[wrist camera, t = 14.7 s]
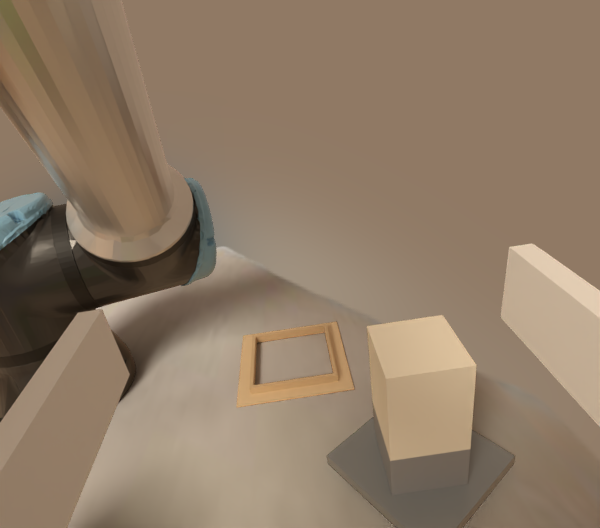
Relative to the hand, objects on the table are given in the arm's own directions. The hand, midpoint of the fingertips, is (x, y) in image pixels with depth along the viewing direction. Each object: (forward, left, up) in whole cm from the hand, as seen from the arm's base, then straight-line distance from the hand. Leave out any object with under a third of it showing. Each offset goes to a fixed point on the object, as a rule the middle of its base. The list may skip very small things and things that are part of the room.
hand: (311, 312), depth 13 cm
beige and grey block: (-6, +13, -24) cm, 28 cm away
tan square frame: (-25, +14, -25) cm, 38 cm away
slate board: (-6, +13, -25) cm, 29 cm away
